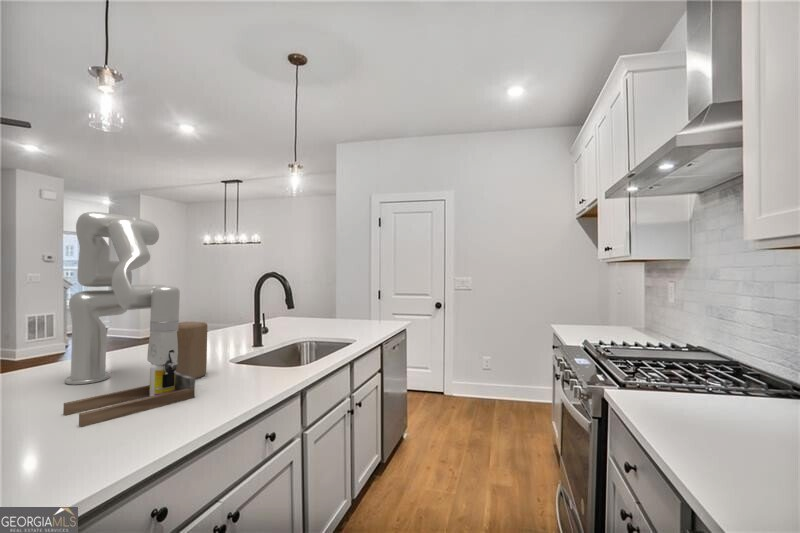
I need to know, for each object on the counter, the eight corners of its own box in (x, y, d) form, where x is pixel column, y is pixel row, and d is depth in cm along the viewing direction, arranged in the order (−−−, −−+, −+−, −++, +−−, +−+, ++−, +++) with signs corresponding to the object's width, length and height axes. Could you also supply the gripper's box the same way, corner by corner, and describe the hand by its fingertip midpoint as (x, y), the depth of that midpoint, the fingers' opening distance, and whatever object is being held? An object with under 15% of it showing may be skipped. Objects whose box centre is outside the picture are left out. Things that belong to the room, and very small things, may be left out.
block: (187, 382, 133) (188, 325, 133) (163, 380, 135) (164, 324, 135) (207, 375, 143) (208, 322, 143) (184, 373, 145) (185, 321, 145)
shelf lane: (63, 414, 103) (63, 392, 103) (172, 389, 126) (173, 370, 126) (80, 427, 95) (81, 402, 95) (194, 397, 118) (194, 378, 118)
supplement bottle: (179, 394, 119) (180, 353, 119) (158, 401, 113) (159, 357, 113) (165, 391, 122) (167, 351, 122) (144, 397, 116) (145, 355, 116)
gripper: (138, 324, 119) (136, 381, 119) (164, 331, 109) (162, 393, 109) (164, 322, 125) (162, 376, 125) (191, 328, 115) (189, 387, 115)
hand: (162, 383), depth 117 cm, fingers closed on supplement bottle, 6 cm apart
